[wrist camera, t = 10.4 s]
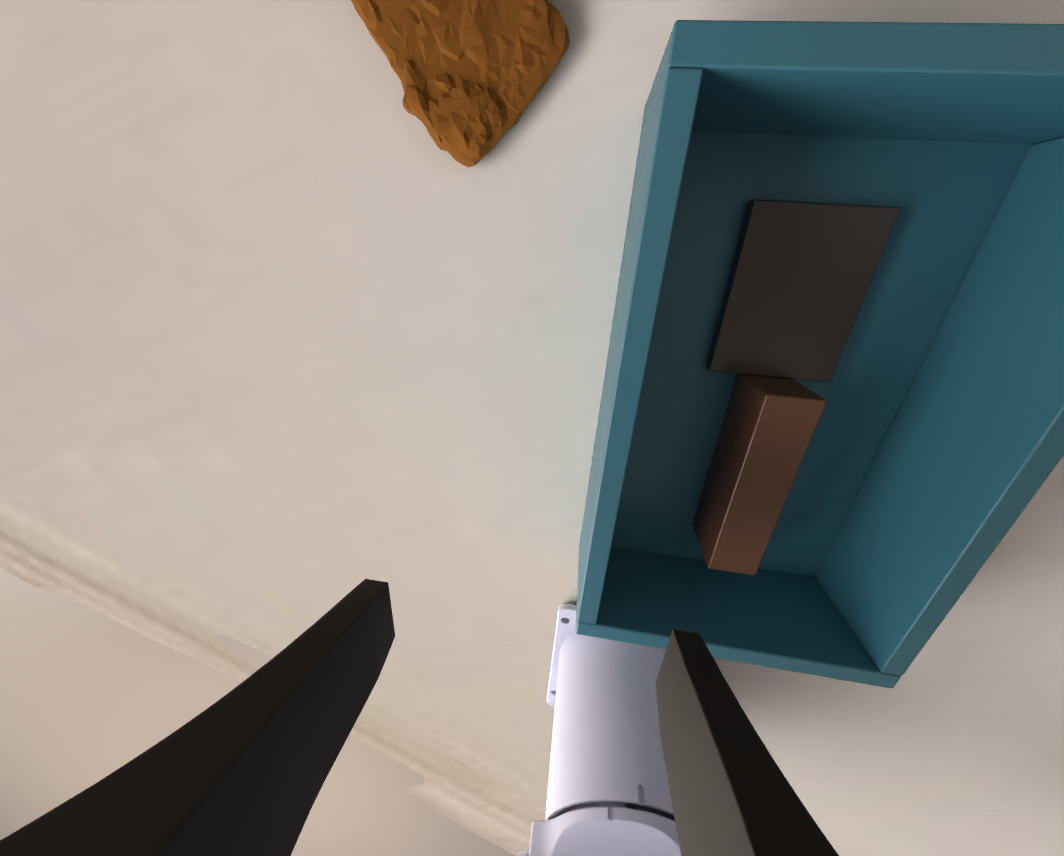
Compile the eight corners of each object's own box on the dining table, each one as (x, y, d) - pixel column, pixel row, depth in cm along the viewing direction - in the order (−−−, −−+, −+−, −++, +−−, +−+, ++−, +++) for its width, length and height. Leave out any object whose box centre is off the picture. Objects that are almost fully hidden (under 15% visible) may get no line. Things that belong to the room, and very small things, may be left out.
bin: (820, 582, 20) (893, 689, 15) (579, 547, 22) (575, 634, 17) (1057, 118, 12) (1379, 25, 7) (645, 104, 13) (675, 18, 8)
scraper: (760, 534, 19) (788, 581, 16) (664, 521, 20) (676, 564, 17) (889, 209, 13) (965, 198, 10) (747, 200, 14) (785, 188, 11)
